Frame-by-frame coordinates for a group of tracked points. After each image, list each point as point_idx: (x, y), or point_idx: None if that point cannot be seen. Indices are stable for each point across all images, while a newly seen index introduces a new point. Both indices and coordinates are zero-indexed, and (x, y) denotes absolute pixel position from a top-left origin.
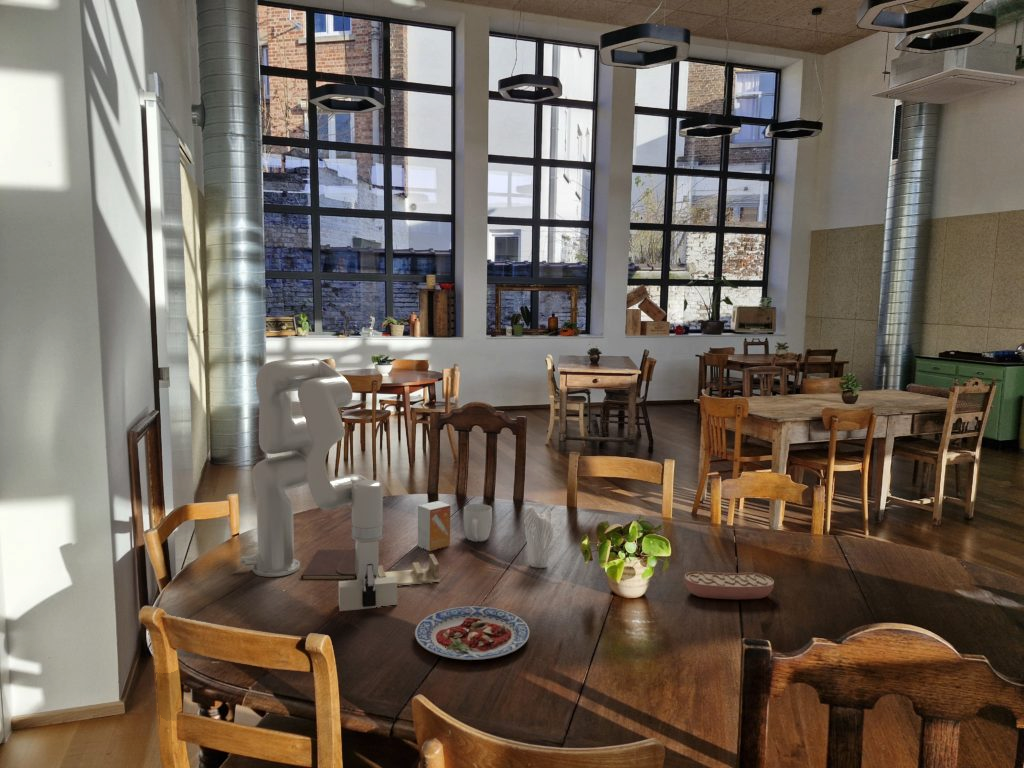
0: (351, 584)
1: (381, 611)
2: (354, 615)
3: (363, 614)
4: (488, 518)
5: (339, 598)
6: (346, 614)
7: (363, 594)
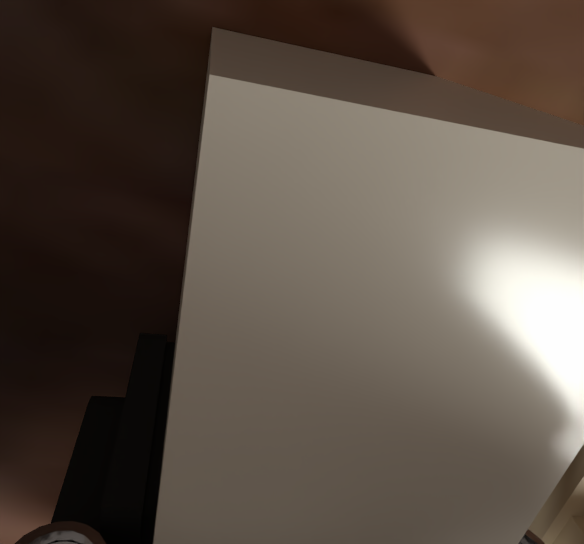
0: (308, 454)
1: (55, 449)
2: (6, 188)
3: (15, 291)
4: None
5: (244, 46)
6: (66, 94)
7: (113, 469)
